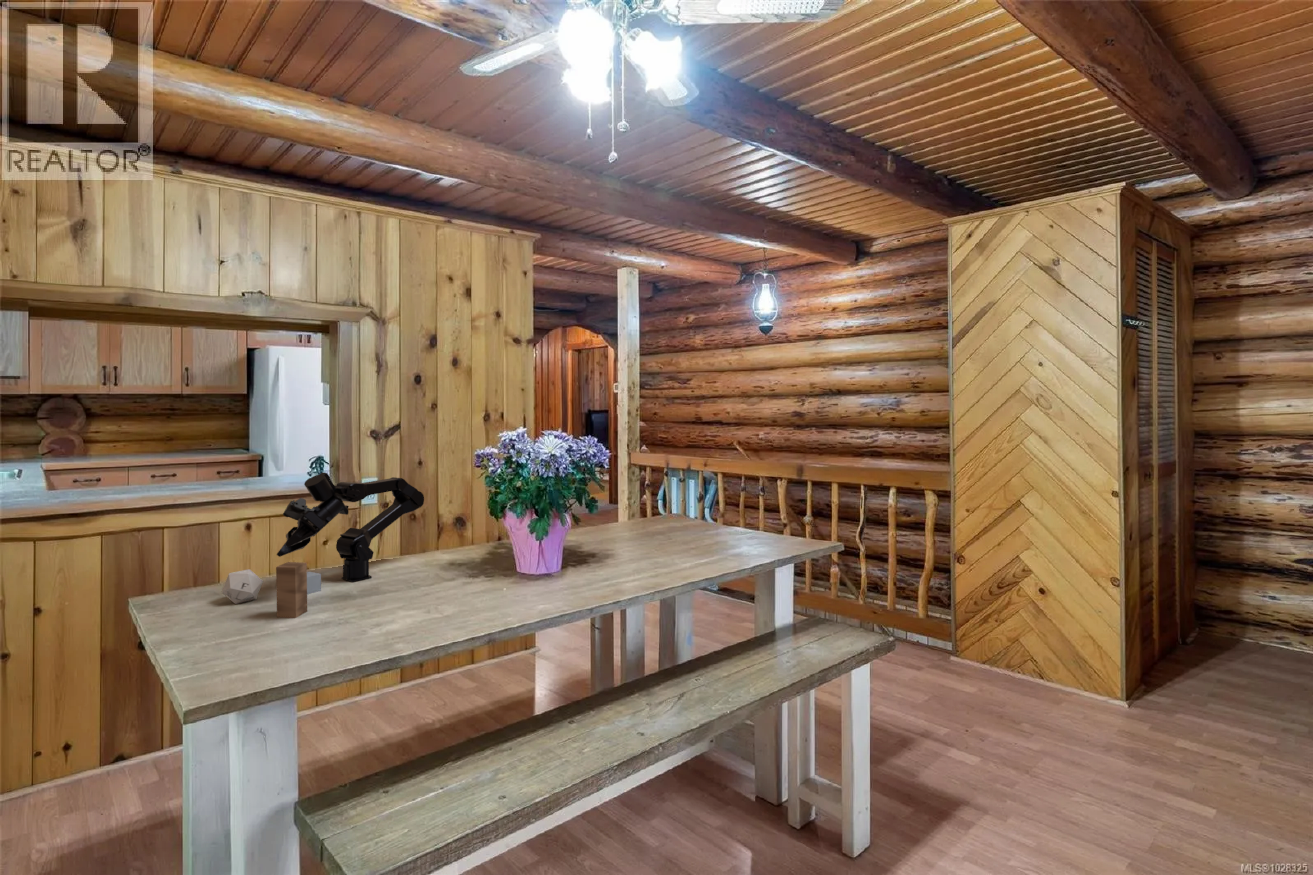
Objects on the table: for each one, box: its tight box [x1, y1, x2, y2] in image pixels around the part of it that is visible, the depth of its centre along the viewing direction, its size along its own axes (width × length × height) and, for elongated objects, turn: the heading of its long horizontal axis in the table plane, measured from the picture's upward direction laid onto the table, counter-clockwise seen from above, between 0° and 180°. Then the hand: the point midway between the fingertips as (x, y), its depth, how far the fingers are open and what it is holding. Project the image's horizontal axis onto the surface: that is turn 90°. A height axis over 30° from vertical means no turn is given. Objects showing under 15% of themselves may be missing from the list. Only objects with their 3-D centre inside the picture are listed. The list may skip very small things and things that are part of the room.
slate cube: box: [307, 571, 322, 596], centre depth 191 cm, size 5×5×5 cm
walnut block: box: [275, 561, 308, 619], centre depth 171 cm, size 5×5×13 cm
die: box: [221, 568, 264, 605], centre depth 182 cm, size 8×9×10 cm
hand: (282, 550), depth 183 cm, fingers open, 9 cm apart
